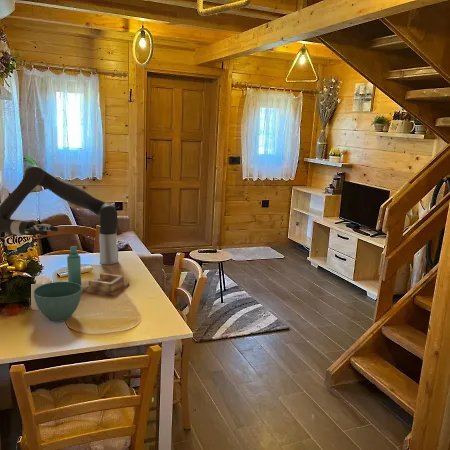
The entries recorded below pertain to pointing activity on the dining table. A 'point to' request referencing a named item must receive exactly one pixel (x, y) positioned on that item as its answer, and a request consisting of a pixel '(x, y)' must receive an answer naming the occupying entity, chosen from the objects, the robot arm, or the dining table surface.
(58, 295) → the teal bowl
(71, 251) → the bottle
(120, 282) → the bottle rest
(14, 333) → the dining table surface
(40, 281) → the candle holder
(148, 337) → the dining table surface
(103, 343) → the dining table surface
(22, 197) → the robot arm
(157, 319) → the dining table surface
